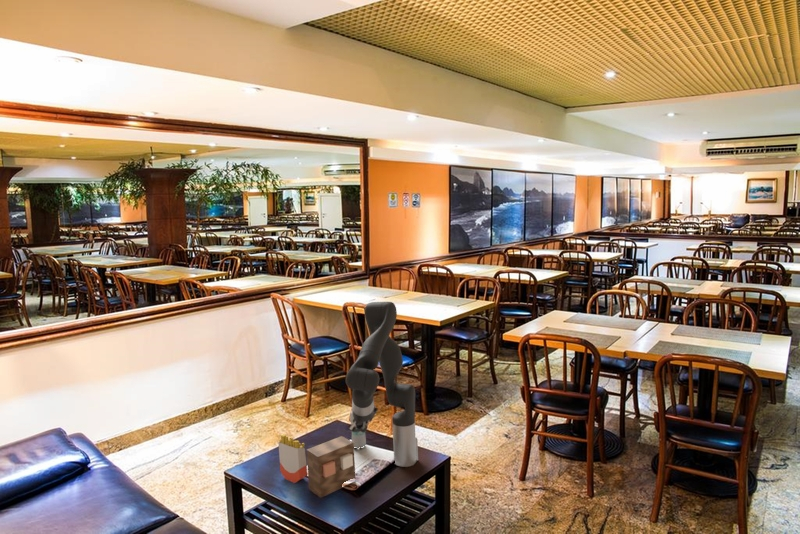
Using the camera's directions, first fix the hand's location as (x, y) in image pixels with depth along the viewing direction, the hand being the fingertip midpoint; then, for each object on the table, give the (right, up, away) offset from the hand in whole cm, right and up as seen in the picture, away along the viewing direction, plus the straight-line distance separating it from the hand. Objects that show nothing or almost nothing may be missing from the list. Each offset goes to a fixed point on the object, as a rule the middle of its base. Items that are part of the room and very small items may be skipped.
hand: (363, 429), depth 192 cm
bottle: (-5, -21, +41) cm, 46 cm away
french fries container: (-28, -25, +16) cm, 41 cm away
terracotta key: (-14, -18, +4) cm, 23 cm away
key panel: (-13, -25, +10) cm, 29 cm away
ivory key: (-8, -17, +9) cm, 21 cm away
